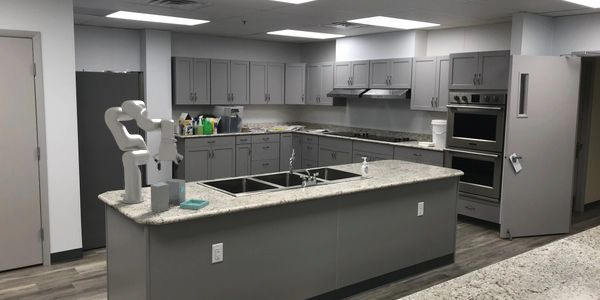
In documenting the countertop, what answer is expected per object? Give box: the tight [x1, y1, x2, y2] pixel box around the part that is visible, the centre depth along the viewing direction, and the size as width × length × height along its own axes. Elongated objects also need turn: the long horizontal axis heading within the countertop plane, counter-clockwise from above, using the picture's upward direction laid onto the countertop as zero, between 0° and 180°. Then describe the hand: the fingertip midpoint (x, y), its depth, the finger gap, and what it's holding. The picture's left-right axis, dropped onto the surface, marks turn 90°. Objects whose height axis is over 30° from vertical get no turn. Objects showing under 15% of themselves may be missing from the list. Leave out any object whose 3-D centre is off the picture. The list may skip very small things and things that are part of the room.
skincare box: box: [150, 181, 170, 214], centre depth 277 cm, size 8×7×16 cm
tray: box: [179, 198, 210, 210], centre depth 291 cm, size 12×13×2 cm
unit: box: [165, 178, 186, 206], centre depth 296 cm, size 11×9×14 cm
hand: (168, 170), depth 280 cm, fingers open, 9 cm apart
